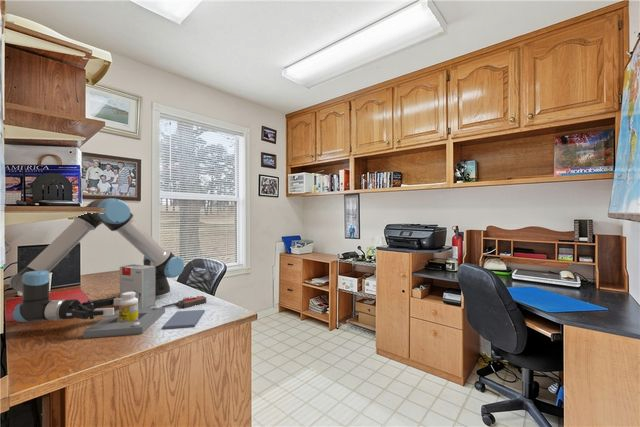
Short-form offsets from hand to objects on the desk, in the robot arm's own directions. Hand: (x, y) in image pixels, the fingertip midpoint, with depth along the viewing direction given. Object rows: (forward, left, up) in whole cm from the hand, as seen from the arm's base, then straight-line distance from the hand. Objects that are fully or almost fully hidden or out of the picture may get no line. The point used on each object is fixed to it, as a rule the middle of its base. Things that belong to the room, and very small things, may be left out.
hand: (122, 306), depth 117 cm
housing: (-1, +2, -8) cm, 8 cm away
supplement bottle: (-1, +2, -8) cm, 8 cm away
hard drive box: (-26, -5, -8) cm, 27 cm away
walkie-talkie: (-22, +19, -8) cm, 30 cm away
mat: (-1, +24, -8) cm, 25 cm away
